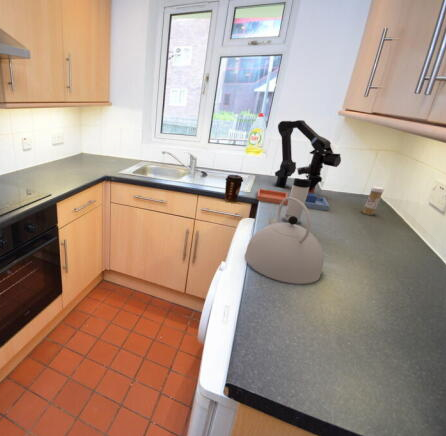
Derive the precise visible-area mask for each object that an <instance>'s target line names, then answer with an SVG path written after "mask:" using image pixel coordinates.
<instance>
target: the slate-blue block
mask: <svg viewBox="0 0 446 436" xmlns="http://www.w3.org/2000/svg"><path fill="white" fill-rule="evenodd" d="M317 197H318V196H317V194H316V193H308V194H307V198H306V201H305V202H309V203H315V202H316V199H317Z"/></svg>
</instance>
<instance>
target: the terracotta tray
mask: <svg viewBox="0 0 446 436" xmlns="http://www.w3.org/2000/svg"><path fill="white" fill-rule="evenodd" d="M287 197H289V195H288V192H283V191H279V190H278V191H277V190H270V189H263V188H258V191H257V197H256V201H258V202H265V203H266V202H267V203H272V204H277V205H280V204H281V202H282V201H283V200H284V199H285V198H287ZM288 201H289V200H286V201H285V202H284V204H283V206H285V205H286V206H287V205H288Z"/></svg>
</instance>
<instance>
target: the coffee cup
mask: <svg viewBox="0 0 446 436" xmlns="http://www.w3.org/2000/svg"><path fill="white" fill-rule="evenodd" d="M243 182H244V179H243V177H242V175H238V174H228V175H227V177H225V190H224V201H226V202H231V203H234V202H237V201H238V198H239V197H238V196H239V195H240V192H241V188H242V183H243Z"/></svg>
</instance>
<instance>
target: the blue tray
mask: <svg viewBox="0 0 446 436" xmlns="http://www.w3.org/2000/svg"><path fill="white" fill-rule="evenodd" d="M304 205H305V206H306V207H307V209H315V210H322V211H328V210H329V207H330V205H329V203H328V202H327V200H326V197H323V196H317V199H316V202H315V203H309V202H305V204H304Z"/></svg>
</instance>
